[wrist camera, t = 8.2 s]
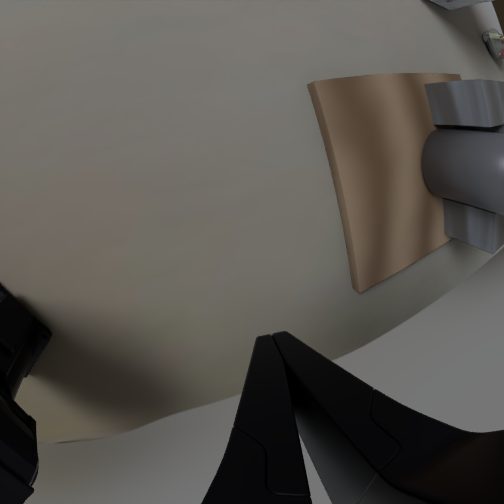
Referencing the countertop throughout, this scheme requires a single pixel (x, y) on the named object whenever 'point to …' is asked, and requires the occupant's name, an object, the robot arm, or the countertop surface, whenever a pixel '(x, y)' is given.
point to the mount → (401, 165)
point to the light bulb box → (457, 3)
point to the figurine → (494, 43)
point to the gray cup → (466, 167)
